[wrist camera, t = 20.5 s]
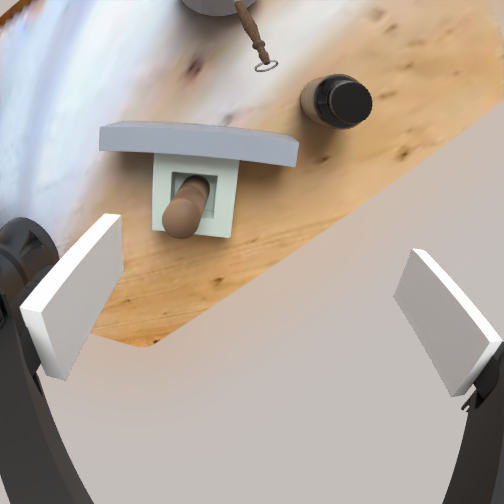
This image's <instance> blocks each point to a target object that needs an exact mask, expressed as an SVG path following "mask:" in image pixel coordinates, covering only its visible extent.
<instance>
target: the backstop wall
mask: <svg viewBox="0 0 504 504" xmlns="http://www.w3.org/2000/svg"><path fill="white" fill-rule="evenodd" d="M298 148H299V142H298V141H297V140H295V139H294V138H293V137H292V136H290V135H287V134H280V133H274V132H266V131H259V130H251V129H243V128H234V127H224V126H214V125H202V124H188V123H172V122H147V121H121V122H117V123H113V124H109V125H106V126H102V127H100V138H99V151H129V152H151V153H168V154H182V155H195V156H206V157H217V158H226V159H236V160H244V161H253V162H261V163H268V164H276V165H283V166H290V167H295V166H296V160H297V154H298Z"/></svg>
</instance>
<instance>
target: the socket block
mask: <svg viewBox="0 0 504 504" xmlns="http://www.w3.org/2000/svg"><path fill="white" fill-rule="evenodd" d="M239 161H240V160H236V159H226V158H217V157H206V156H195V155H182V154H168V153H154V164H153V192H152V230H158V231H165V229H164V227H163V225H162V215H163V213H164V211H165V209H166V208H167V206H168V205H169V203H170V202H171V200H172V199H173V197H174V195H175V194H176V192H177V191H178V189H179V188H180V186H181V185H182V183H183V182H184V181H185V179H186V178H188V177H189V176H192V175H199V176H202V177H204V178H205V179H206V180H207V181H208V183H209V185H210V193H209V196H208V199H207V202H206V205H205V208H204V211H203V214H202V217H201V220H200V223H199V226H198V229H197V231H196V232H195V233H194V234H197V235H207V236H216V237H226V238H230V236H231V227H232V219H233V210H234V202H235V193H236V185H237V177H238V169H239Z"/></svg>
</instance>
